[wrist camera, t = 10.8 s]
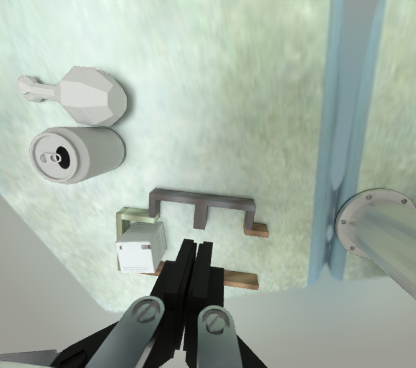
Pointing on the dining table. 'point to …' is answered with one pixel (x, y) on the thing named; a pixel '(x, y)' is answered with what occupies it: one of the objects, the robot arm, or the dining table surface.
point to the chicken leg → (81, 95)
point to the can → (75, 153)
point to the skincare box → (141, 248)
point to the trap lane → (196, 223)
